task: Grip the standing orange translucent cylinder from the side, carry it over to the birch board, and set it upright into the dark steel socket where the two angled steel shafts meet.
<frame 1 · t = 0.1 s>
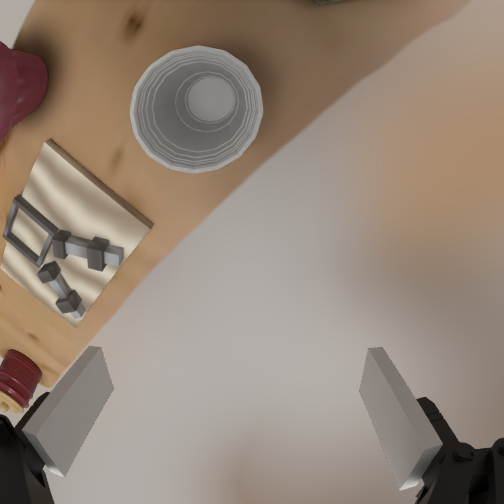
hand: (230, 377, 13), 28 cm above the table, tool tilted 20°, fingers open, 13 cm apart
plastic cup: (212, 98, 31), on the table
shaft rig: (60, 247, 42), on the table
plant pot: (26, 84, 28), on the table
canister: (24, 363, 65), on the table
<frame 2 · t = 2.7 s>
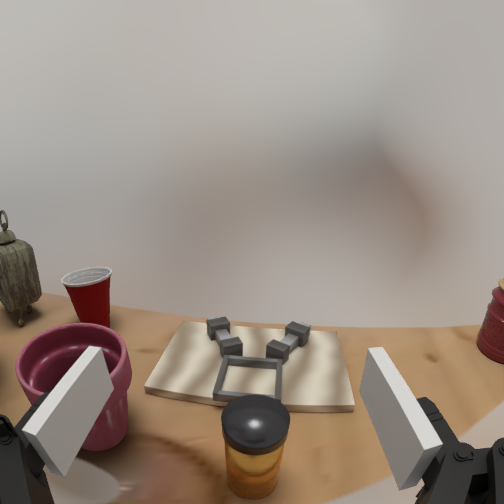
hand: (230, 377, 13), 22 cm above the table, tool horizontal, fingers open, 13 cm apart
plastic cup: (96, 327, 55), on the table
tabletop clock: (24, 315, 55), on the table
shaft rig: (253, 366, 48), on the table
plant pot: (97, 428, 31), on the table
orange translucent cylinder: (252, 480, 26), on the table
canister: (498, 349, 46), on the table
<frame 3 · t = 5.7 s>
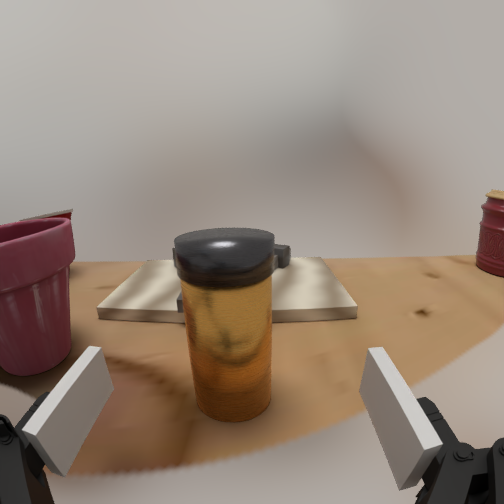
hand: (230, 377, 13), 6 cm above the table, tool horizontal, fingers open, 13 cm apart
plastic cup: (55, 277, 47), on the table
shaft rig: (228, 289, 42), on the table
plant pot: (35, 354, 24), on the table
orange translucent cylinder: (233, 396, 21), on the table
canister: (501, 270, 45), on the table
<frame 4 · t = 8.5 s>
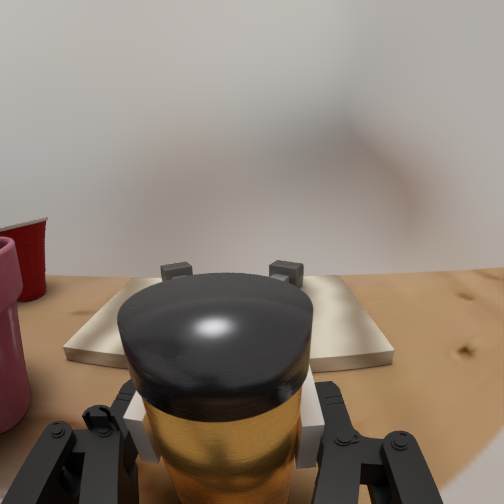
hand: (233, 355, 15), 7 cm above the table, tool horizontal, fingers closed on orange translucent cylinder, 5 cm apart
plastic cup: (30, 296, 39), on the table
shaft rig: (227, 320, 33), on the table
orange translucent cylinder: (235, 499, 12), on the table, touching gripper
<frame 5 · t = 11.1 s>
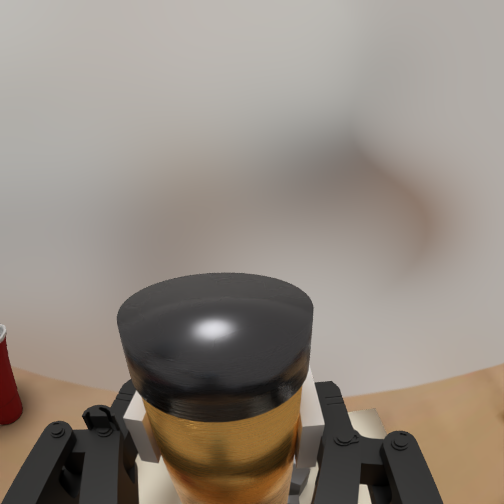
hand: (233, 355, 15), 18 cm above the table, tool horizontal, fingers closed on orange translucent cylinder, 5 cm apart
plastic cup: (7, 412, 26), on the table
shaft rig: (244, 497, 21), on the table
orange translucent cylinder: (235, 499, 12), point 11 cm above the table, touching gripper
when the fingers open (9 cm above the table, at t = 13.7 s): orange translucent cylinder drops 1 cm, resting on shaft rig.
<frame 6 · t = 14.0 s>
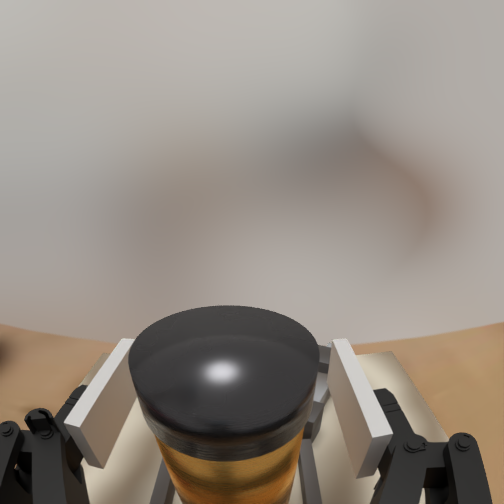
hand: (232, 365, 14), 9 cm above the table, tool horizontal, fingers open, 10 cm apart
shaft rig: (241, 451, 18), on the table
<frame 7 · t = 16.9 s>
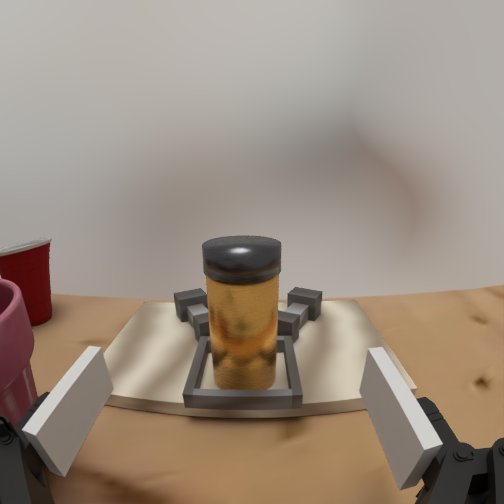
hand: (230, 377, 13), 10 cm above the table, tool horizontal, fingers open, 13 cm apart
plastic cup: (36, 319, 37), on the table
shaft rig: (246, 353, 32), on the table
plant pot: (9, 451, 14), on the table
orange translucent cylinder: (244, 375, 25), point 2 cm above the table, touching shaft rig
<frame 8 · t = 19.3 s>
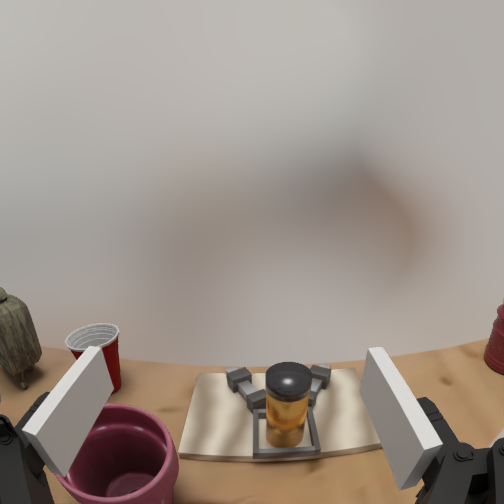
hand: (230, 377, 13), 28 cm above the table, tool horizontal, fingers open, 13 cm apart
plastic cup: (107, 386, 50), on the table
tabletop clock: (25, 374, 48), on the table
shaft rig: (281, 414, 44), on the table
plant pot: (139, 501, 26), on the table
orange translucent cylinder: (284, 435, 38), point 2 cm above the table, touching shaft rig
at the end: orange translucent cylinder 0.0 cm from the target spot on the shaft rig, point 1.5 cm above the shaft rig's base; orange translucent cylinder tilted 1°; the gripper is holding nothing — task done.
